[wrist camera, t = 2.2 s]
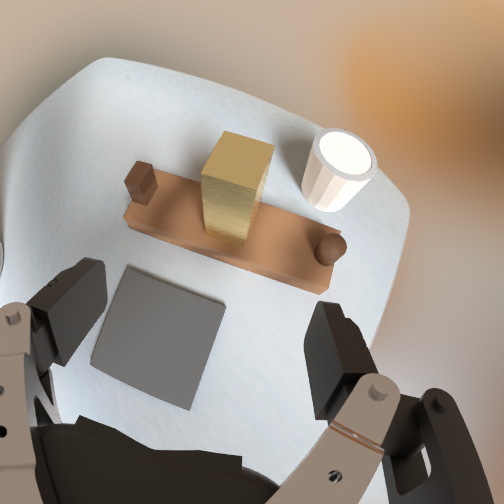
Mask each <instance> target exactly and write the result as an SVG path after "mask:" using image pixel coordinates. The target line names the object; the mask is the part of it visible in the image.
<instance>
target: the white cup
mask: <svg viewBox="0 0 504 504" xmlns="http://www.w3.org/2000/svg"><path fill="white" fill-rule="evenodd" d="M376 171H377V160H376V157H375V154H374V152H373V151H372V149H371V148H370V147H369V146H368V144H367V143H366V142H365V141H363V140H362V139H361V138H360V137H358V136H357V135H355V134H353V133H350V132H349V131H346V130H343V129H337V128H329V129H324V130H321V131H320V132H319V133H318V134H316V135H315V138H314V141H313V144H312V148H311V151H310V155H309V159H308V162H307V166H306V169H305V173H304V176H303V180H302V183H301V189H302V194H303V196H304V197H305V199H306V200H307V202H308V203H310V204H311V205H312V206H313V207H314V208H316V209H319V210H321V211H324V212H334V211H337V210H339V209H341V208H342V207H343V206H344V205H345V204H346V203H347V202H348V201H349V200H350V199H351V198H352V197H353V196H354V195H355V194H356V193H357V192H358V191H359V190H360V189H361V188H362V187H363V186H364V185H365V184H366V183H367V182H368V181H369V180H370V179H371V178H372V177H373V175H374V174H375V173H376Z"/></svg>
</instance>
